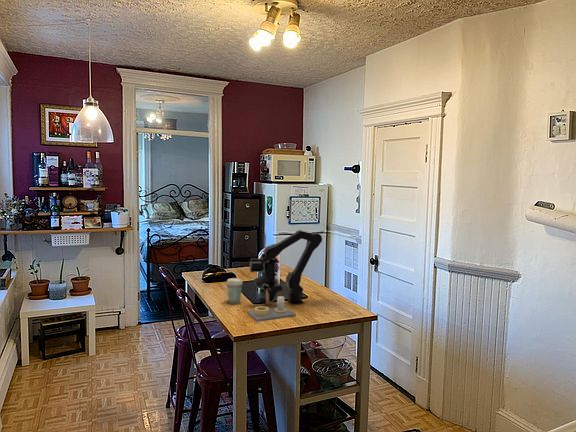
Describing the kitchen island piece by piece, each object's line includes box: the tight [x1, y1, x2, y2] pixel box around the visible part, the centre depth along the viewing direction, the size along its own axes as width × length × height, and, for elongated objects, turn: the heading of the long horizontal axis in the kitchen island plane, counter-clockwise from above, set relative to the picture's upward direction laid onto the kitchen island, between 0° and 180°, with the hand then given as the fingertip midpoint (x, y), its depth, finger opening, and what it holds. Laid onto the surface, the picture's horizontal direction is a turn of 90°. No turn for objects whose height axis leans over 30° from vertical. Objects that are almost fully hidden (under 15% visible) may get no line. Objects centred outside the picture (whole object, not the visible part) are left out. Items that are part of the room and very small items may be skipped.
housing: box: [246, 295, 297, 323], centre depth 209 cm, size 20×13×8 cm, turn 116°
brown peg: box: [265, 288, 274, 306], centre depth 226 cm, size 4×4×8 cm
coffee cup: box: [225, 277, 244, 305], centre depth 226 cm, size 8×9×12 cm
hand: (269, 300), depth 226 cm, fingers closed on brown peg, 3 cm apart
